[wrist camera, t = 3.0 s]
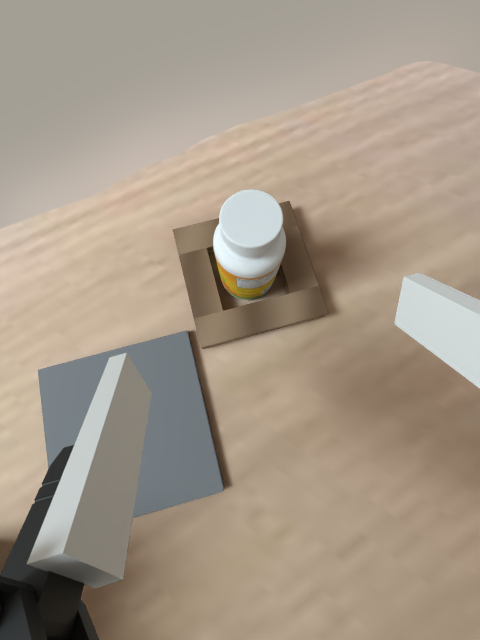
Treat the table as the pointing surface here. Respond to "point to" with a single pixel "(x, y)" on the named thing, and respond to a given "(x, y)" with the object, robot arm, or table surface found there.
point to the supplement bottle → (249, 243)
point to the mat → (162, 424)
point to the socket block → (253, 317)
